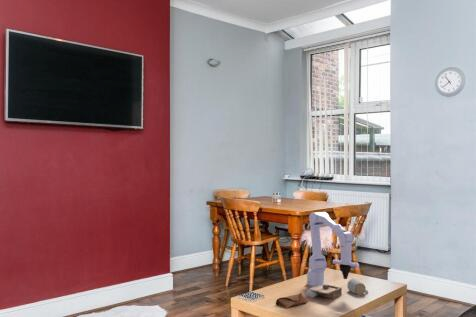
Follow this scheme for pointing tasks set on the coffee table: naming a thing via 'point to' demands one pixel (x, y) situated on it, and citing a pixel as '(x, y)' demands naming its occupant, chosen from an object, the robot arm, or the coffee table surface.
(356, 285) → the ceramic mug
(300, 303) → the sunglasses case
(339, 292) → the keepsake box
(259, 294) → the coffee table surface
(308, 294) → the white rounded piece
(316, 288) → the lid
